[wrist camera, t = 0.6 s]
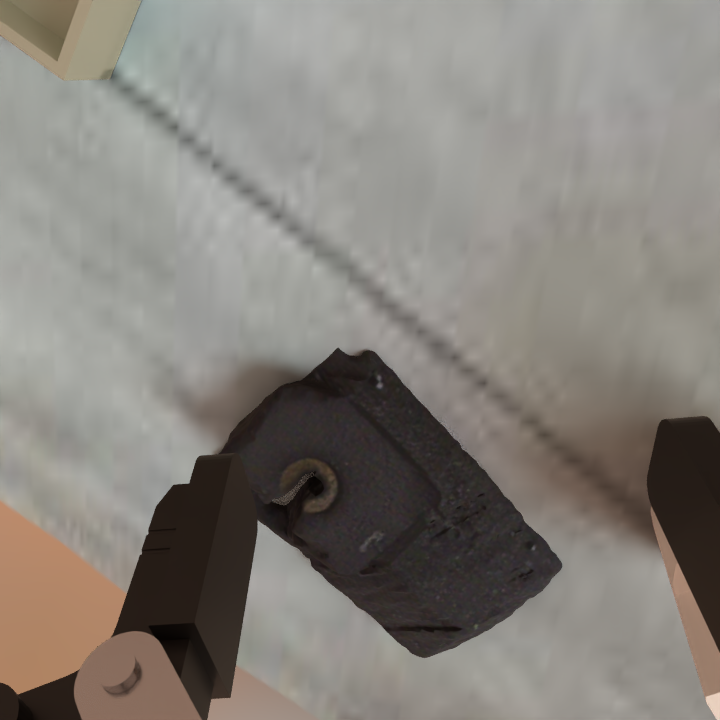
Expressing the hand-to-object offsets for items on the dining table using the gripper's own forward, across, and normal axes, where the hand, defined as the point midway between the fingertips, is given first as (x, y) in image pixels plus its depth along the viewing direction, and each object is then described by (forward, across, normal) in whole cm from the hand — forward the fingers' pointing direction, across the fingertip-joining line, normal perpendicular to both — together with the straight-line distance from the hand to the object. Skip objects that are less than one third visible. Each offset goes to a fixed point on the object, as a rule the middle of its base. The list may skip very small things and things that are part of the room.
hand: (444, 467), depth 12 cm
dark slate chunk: (+20, +3, +24) cm, 32 cm away
